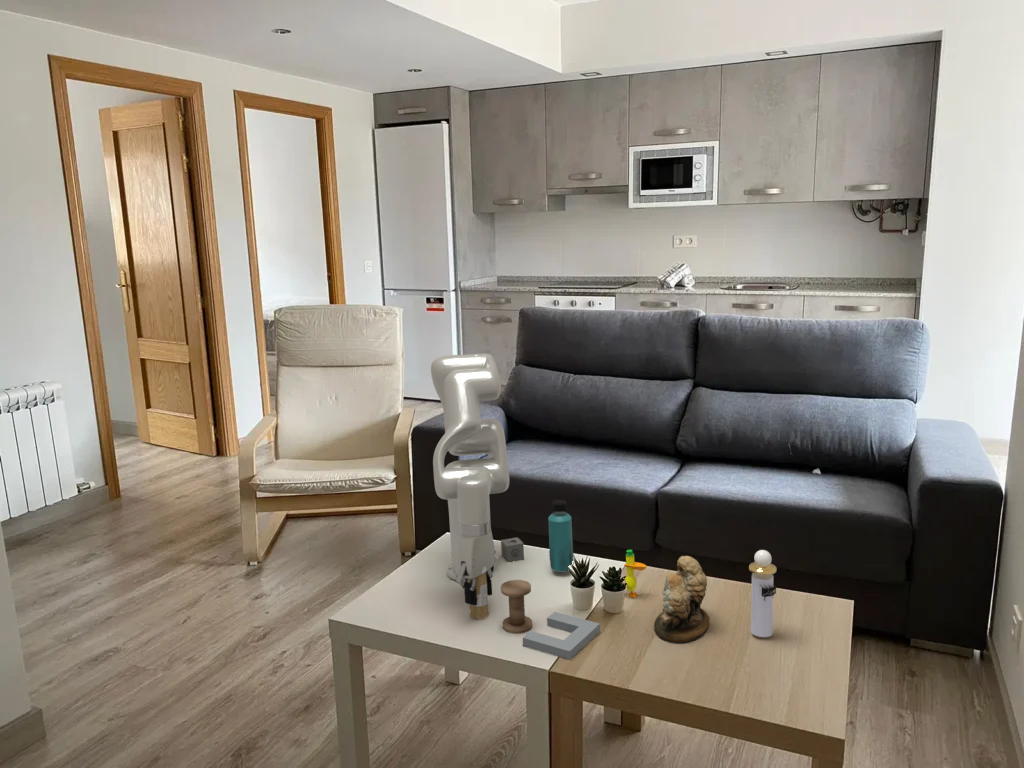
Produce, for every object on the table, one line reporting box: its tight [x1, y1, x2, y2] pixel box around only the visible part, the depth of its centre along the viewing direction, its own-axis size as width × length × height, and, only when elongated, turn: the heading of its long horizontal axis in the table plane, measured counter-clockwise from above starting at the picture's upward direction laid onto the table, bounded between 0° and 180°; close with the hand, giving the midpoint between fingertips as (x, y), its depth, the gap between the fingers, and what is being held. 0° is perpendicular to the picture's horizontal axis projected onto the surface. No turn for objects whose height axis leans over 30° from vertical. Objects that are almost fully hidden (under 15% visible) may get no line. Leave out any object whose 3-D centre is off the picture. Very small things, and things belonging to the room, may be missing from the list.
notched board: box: [522, 611, 601, 661], centre depth 178 cm, size 14×12×2 cm
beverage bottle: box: [547, 499, 575, 573], centre depth 211 cm, size 6×7×20 cm
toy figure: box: [623, 549, 648, 599], centre depth 196 cm, size 7×4×12 cm, turn 63°
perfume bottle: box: [748, 549, 777, 638], centre depth 174 cm, size 6×6×20 cm
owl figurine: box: [653, 555, 710, 645], centre depth 180 cm, size 18×12×17 cm, turn 153°
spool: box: [500, 579, 534, 635], centre depth 184 cm, size 7×7×10 cm
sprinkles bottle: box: [469, 567, 489, 620], centre depth 190 cm, size 5×5×14 cm
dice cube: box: [500, 536, 525, 563], centre depth 224 cm, size 5×5×5 cm
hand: (478, 598), depth 190 cm, fingers open, 5 cm apart
